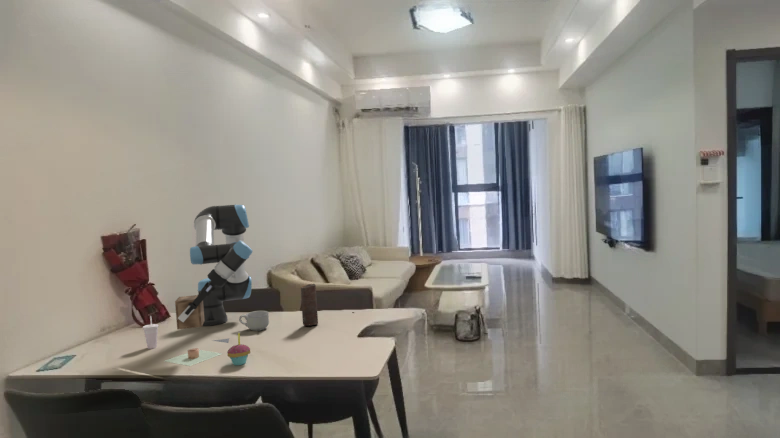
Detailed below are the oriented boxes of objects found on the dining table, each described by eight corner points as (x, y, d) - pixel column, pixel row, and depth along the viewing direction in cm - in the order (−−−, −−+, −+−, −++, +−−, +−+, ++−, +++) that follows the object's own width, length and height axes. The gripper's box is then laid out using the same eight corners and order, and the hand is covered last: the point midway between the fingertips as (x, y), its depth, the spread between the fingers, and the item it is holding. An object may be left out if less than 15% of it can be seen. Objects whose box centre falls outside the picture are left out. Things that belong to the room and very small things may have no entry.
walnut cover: (177, 329, 201) (175, 301, 201) (181, 323, 211) (179, 296, 210) (201, 326, 203) (199, 298, 203) (204, 321, 213) (202, 294, 213)
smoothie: (163, 345, 231) (160, 314, 230) (152, 349, 225) (149, 318, 224) (152, 345, 233) (149, 314, 232) (140, 349, 227) (138, 317, 226)
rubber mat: (188, 351, 219) (188, 350, 219) (191, 343, 231) (191, 342, 231) (227, 346, 223) (227, 345, 223) (229, 339, 235) (229, 338, 235)
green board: (163, 362, 205) (163, 361, 205) (197, 350, 219) (197, 349, 219) (189, 367, 197) (189, 365, 197) (223, 355, 211) (223, 353, 211)
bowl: (185, 358, 207) (185, 350, 207) (194, 355, 211) (194, 347, 211) (192, 359, 205) (192, 351, 205) (201, 356, 209) (200, 348, 209)
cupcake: (231, 360, 203) (228, 330, 202) (253, 358, 203) (251, 328, 203) (225, 368, 194) (223, 336, 193) (249, 366, 195) (246, 334, 194)
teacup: (272, 326, 255) (271, 310, 254) (265, 332, 244) (264, 315, 243) (245, 327, 256) (244, 311, 256) (236, 333, 245) (235, 316, 245)
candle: (316, 327, 247) (314, 285, 246) (301, 328, 248) (298, 286, 247) (319, 323, 255) (316, 282, 254) (304, 324, 255) (301, 283, 254)
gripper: (226, 284, 199) (186, 329, 196) (230, 276, 221) (193, 317, 218) (210, 271, 198) (169, 317, 195) (216, 265, 220) (179, 305, 217)
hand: (182, 317), depth 206 cm, fingers closed on walnut cover, 10 cm apart
